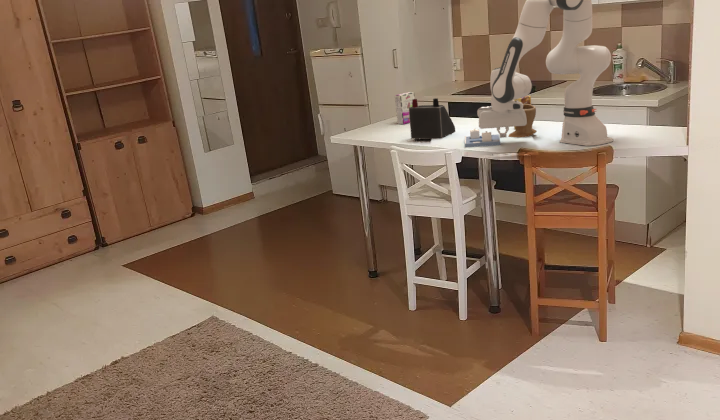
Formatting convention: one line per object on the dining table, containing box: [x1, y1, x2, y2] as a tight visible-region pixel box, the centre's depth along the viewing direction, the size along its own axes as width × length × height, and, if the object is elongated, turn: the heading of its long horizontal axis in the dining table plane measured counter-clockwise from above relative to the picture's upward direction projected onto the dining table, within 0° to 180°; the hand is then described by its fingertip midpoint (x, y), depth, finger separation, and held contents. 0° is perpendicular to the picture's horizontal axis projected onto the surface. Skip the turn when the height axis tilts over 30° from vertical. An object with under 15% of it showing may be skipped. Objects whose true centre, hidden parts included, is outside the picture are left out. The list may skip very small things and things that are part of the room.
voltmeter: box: [409, 97, 456, 142], centre depth 317 cm, size 16×16×20 cm
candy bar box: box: [394, 91, 416, 126], centre depth 368 cm, size 11×5×16 cm, turn 132°
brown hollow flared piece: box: [507, 104, 537, 138], centre depth 298 cm, size 15×12×15 cm
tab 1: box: [469, 128, 481, 139], centre depth 295 cm, size 4×3×5 cm
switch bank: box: [464, 133, 501, 148], centre depth 291 cm, size 15×16×3 cm
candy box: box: [513, 95, 532, 131], centre depth 318 cm, size 9×4×15 cm, turn 134°
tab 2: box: [481, 130, 492, 142], centre depth 286 cm, size 4×3×5 cm
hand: (503, 137), depth 285 cm, fingers closed
